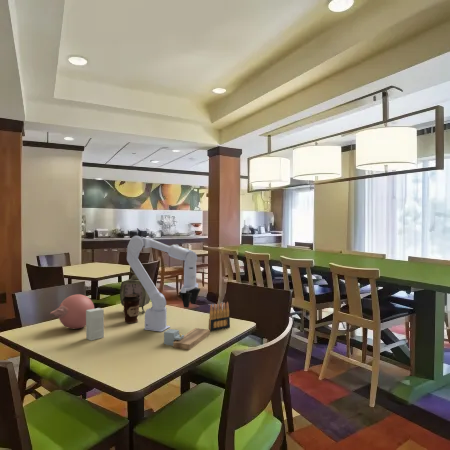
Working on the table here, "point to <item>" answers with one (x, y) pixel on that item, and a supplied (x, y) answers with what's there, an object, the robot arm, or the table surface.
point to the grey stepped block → (172, 336)
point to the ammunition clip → (219, 317)
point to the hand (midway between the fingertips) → (189, 305)
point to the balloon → (74, 311)
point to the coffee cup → (131, 308)
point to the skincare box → (94, 324)
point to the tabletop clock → (134, 290)
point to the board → (191, 338)
